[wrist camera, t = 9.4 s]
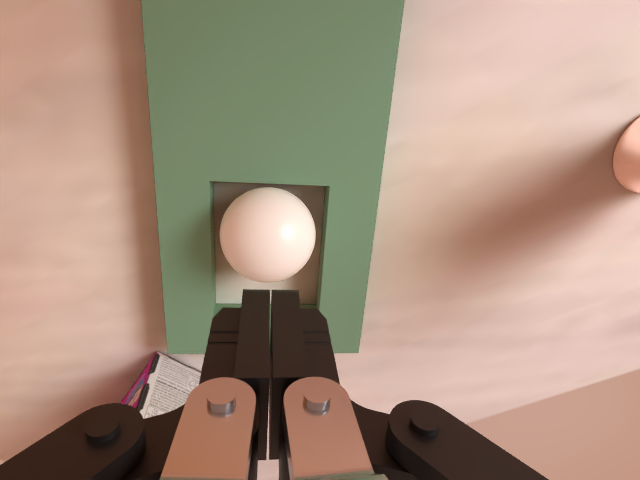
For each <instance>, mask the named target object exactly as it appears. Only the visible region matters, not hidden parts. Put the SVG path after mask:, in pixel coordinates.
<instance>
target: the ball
mask: <svg viewBox="0 0 640 480" xmlns="http://www.w3.org/2000/svg"><path fill="white" fill-rule="evenodd" d="M315 238H316V231H315V225H314V221H313V218H312V215H311V213H310V212H309V210H308V208H307V207H306V206H305V204H304V203H303V202H302V201H301V200H300V199H299V198H298V197H296V196H295V195H293V194H292V193H290V192H288V191H285V190H283V189H279V188H274V187H262V188H256V189H252V190H249V191H247V192H245V193H244V194H242V195H240V196H239V197H238V198H236V199H235V200H234V201H233V202H232V203H231V204H230V206H229V207H228V209H227V210H226V212H225V214H224V216H223V218H222V221H221V226H220V243H221V248H222V251H223V253H224V256H225V258H226V259H227V261H228V262H229V264H230V265H231V266H232V267H233V268H234V269H235V270H236V271H237V272H238V273H240V274H241V275H243V276H244V277H246V278H249V279H251V280H254V281H258V282H267V283H268V282H277V281H281V280H284V279H287V278H289V277H291V276H293V275H294V274H296V273H297V272H298V271H299V270H301V269H302V268H303V266H304V265H305V264H306V263H307V261H308V260H309V258H310V256H311V254H312V252H313V249H314V245H315Z"/></svg>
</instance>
